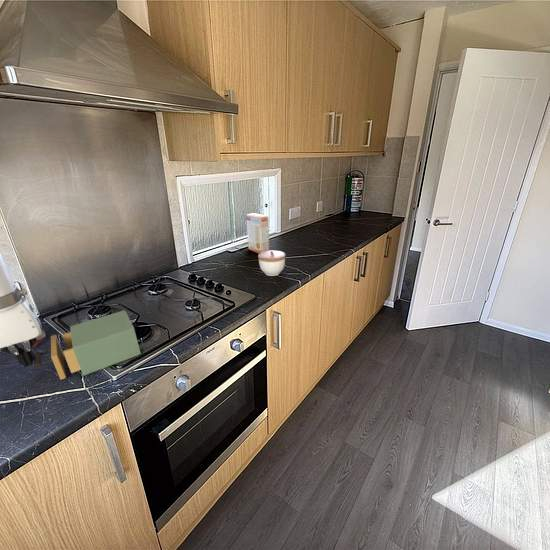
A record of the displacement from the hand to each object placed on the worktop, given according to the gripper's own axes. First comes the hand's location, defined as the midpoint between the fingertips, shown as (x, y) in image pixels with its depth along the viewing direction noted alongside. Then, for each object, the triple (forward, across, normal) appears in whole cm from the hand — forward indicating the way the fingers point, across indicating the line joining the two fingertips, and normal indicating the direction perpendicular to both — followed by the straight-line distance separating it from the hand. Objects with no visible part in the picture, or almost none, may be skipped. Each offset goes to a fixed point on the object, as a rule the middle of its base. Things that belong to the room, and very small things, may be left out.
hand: (29, 363), depth 75 cm
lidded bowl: (+6, -90, -19) cm, 92 cm away
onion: (+6, +1, -18) cm, 19 cm away
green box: (+6, -17, 0) cm, 18 cm away
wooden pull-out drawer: (+5, -10, 0) cm, 11 cm away
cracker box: (+7, -102, -50) cm, 114 cm away
